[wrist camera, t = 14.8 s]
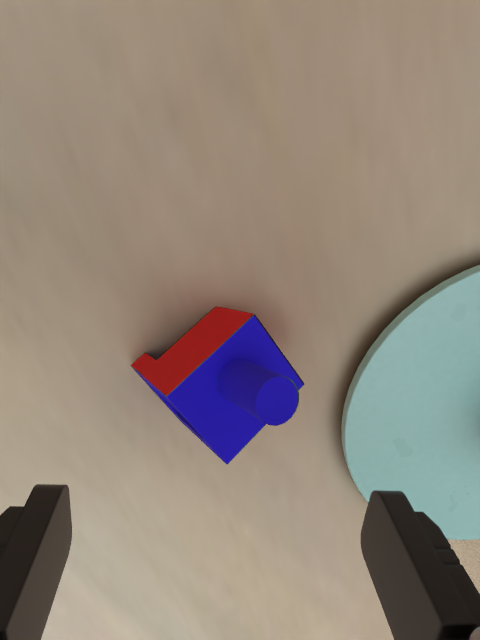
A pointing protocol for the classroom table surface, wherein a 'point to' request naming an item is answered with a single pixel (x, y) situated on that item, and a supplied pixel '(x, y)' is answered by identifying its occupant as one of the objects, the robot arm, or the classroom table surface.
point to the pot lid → (423, 408)
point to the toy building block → (224, 380)
